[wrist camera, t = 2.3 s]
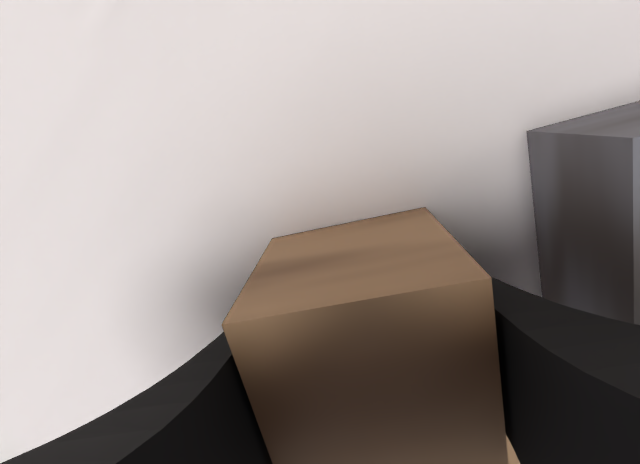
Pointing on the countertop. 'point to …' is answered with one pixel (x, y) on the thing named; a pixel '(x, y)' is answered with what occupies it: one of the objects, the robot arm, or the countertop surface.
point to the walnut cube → (371, 346)
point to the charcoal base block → (589, 211)
